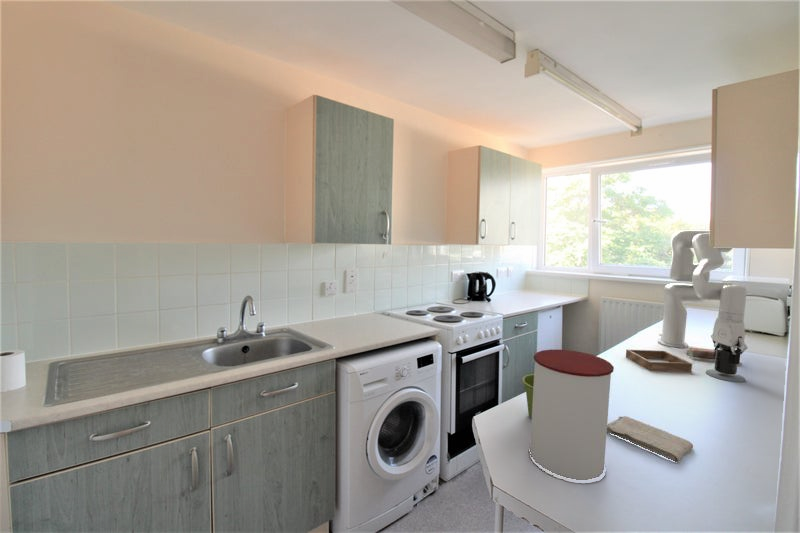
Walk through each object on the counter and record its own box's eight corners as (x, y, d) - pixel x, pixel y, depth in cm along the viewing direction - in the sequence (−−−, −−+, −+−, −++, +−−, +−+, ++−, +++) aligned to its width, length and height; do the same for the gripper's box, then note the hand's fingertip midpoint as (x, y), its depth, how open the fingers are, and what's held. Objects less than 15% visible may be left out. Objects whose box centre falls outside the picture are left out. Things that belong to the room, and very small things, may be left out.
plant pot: (512, 413, 113) (513, 377, 113) (539, 405, 119) (541, 371, 118) (542, 431, 103) (545, 392, 102) (571, 422, 108) (574, 385, 107)
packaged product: (693, 350, 167) (685, 344, 176) (692, 361, 167) (684, 354, 176) (743, 356, 160) (732, 349, 170) (742, 366, 161) (731, 359, 170)
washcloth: (620, 421, 111) (621, 411, 110) (694, 450, 96) (695, 439, 96) (601, 434, 104) (602, 423, 103) (678, 467, 89) (679, 455, 89)
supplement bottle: (730, 369, 150) (733, 340, 149) (740, 375, 144) (744, 345, 143) (710, 367, 152) (713, 339, 151) (719, 373, 146) (722, 344, 145)
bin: (625, 356, 170) (626, 349, 169) (663, 358, 169) (664, 350, 169) (648, 370, 153) (649, 362, 152) (691, 372, 152) (692, 363, 152)
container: (614, 459, 91) (621, 360, 89) (594, 495, 78) (603, 381, 76) (543, 433, 102) (548, 345, 100) (516, 461, 89) (521, 360, 87)
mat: (698, 370, 154) (698, 369, 154) (727, 371, 154) (728, 370, 154) (721, 381, 142) (721, 380, 142) (754, 382, 142) (754, 381, 142)
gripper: (704, 311, 155) (699, 353, 156) (740, 321, 138) (735, 368, 139) (722, 312, 155) (718, 353, 156) (761, 322, 137) (755, 368, 139)
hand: (726, 360), depth 148 cm, fingers closed on supplement bottle, 6 cm apart
